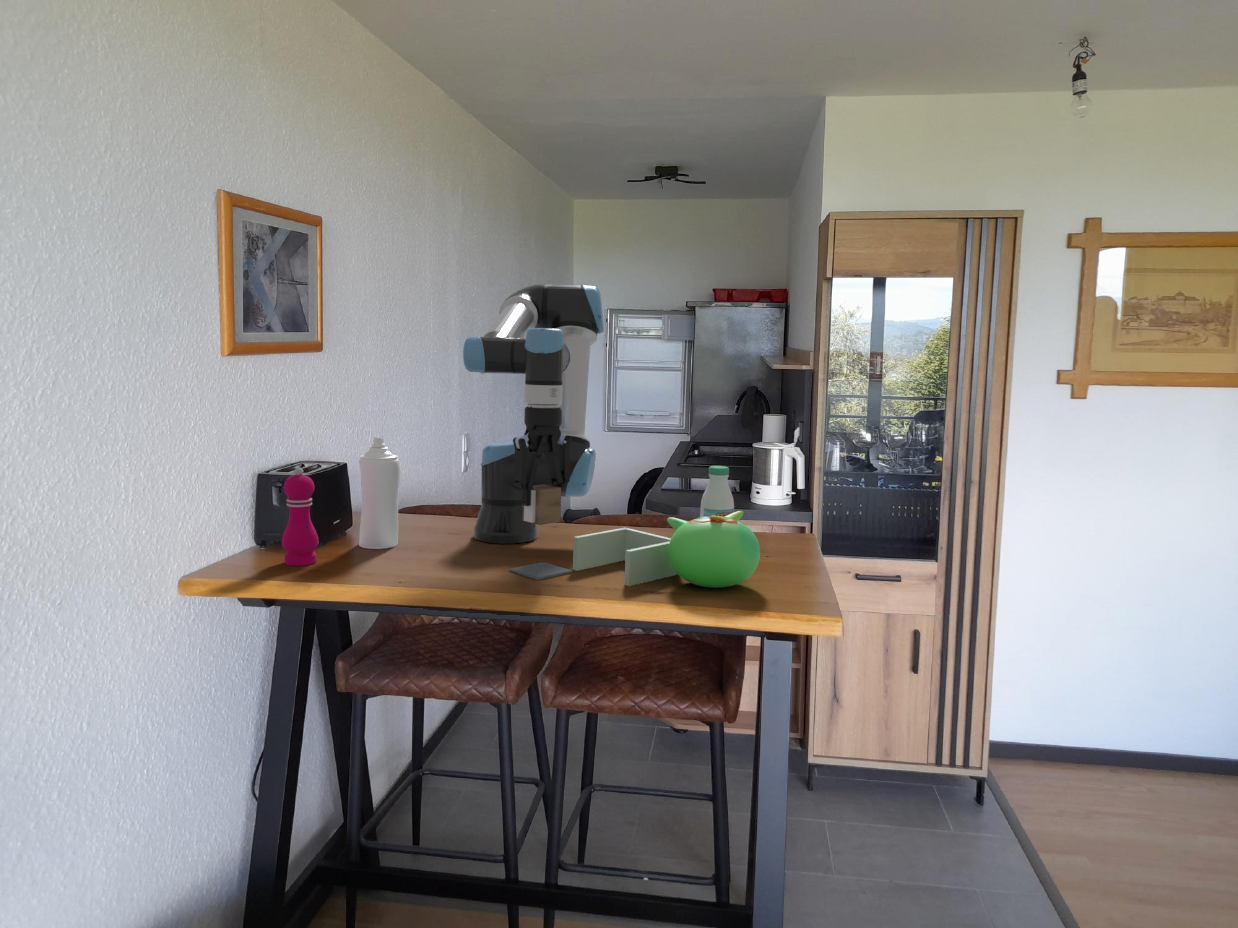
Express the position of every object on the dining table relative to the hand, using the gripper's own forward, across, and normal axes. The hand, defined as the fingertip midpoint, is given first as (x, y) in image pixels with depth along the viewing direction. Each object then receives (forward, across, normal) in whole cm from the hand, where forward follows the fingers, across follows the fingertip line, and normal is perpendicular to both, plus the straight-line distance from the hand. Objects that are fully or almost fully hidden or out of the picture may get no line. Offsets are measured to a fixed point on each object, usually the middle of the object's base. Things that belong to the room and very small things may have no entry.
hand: (541, 519), depth 180 cm
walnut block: (0, 0, 0) cm, 0 cm away
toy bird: (+11, +20, -29) cm, 37 cm away
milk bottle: (+11, +42, -12) cm, 45 cm away
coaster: (+11, 0, 0) cm, 11 cm away
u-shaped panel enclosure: (+11, +13, -11) cm, 20 cm away
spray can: (+11, -14, +40) cm, 44 cm away
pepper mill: (+11, -34, +37) cm, 51 cm away
